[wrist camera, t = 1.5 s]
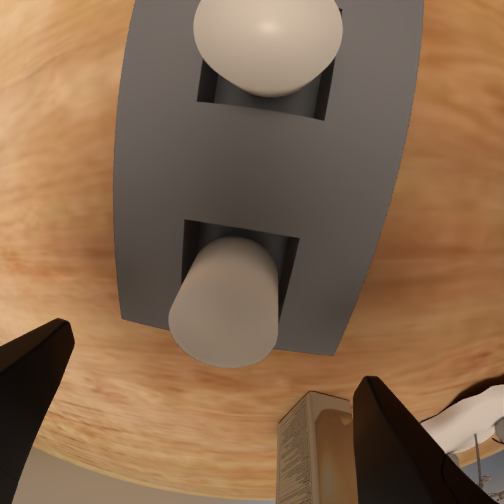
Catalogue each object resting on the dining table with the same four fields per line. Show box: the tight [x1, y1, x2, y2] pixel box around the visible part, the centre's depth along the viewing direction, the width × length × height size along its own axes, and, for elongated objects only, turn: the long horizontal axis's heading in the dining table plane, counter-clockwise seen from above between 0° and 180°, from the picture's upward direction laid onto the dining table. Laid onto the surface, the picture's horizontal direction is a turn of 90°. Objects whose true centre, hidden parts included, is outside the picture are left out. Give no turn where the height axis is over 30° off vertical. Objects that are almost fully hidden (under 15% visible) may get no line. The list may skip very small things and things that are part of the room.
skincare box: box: [276, 391, 358, 504], centre depth 19 cm, size 6×4×12 cm
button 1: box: [193, 0, 343, 98], centre depth 8 cm, size 4×4×4 cm
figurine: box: [421, 384, 504, 501], centre depth 19 cm, size 20×18×16 cm
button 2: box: [168, 236, 278, 368], centre depth 12 cm, size 4×4×4 cm
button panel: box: [113, 0, 424, 356], centre depth 11 cm, size 28×12×4 cm, turn 171°
